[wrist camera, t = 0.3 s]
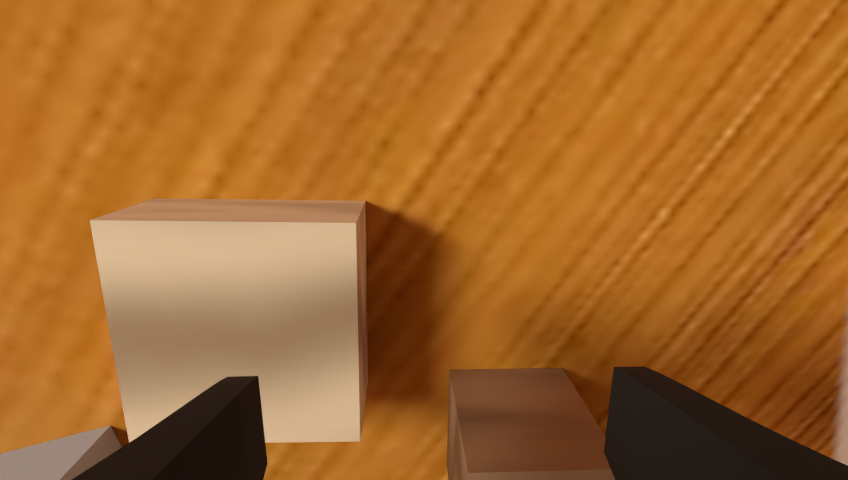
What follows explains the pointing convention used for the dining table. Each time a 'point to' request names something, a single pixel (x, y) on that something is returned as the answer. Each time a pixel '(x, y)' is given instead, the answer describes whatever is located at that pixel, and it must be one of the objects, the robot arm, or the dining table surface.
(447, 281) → the dining table surface
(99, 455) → the slate block
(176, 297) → the base block
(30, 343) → the dining table surface
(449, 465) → the walnut block
